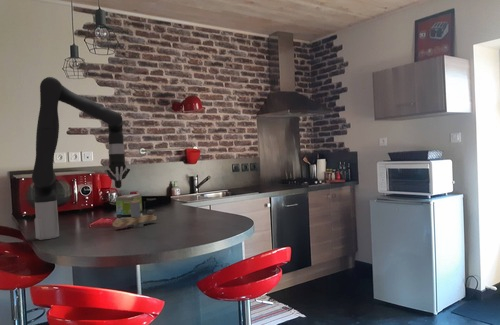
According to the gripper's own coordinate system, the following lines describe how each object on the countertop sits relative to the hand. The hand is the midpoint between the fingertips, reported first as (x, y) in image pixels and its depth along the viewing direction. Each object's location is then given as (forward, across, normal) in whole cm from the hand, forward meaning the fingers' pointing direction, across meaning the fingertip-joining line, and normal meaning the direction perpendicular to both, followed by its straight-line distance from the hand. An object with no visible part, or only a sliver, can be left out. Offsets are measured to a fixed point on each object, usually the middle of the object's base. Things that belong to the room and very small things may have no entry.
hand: (118, 188), depth 194 cm
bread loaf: (+21, +8, 0) cm, 22 cm away
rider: (+16, +9, 0) cm, 19 cm away
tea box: (+21, +15, +18) cm, 31 cm away
